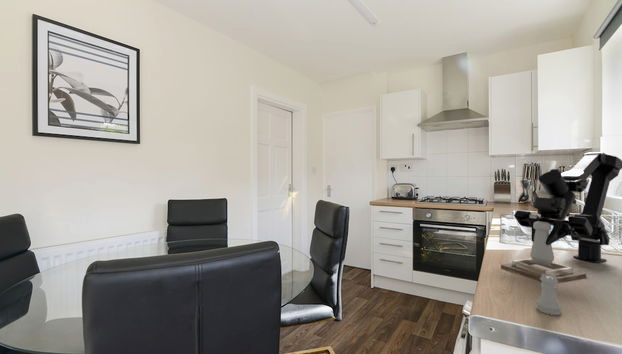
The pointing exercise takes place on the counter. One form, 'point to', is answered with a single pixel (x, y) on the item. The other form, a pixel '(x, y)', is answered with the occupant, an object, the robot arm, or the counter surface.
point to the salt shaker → (541, 245)
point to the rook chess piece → (549, 296)
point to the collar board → (543, 270)
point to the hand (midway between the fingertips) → (539, 243)
